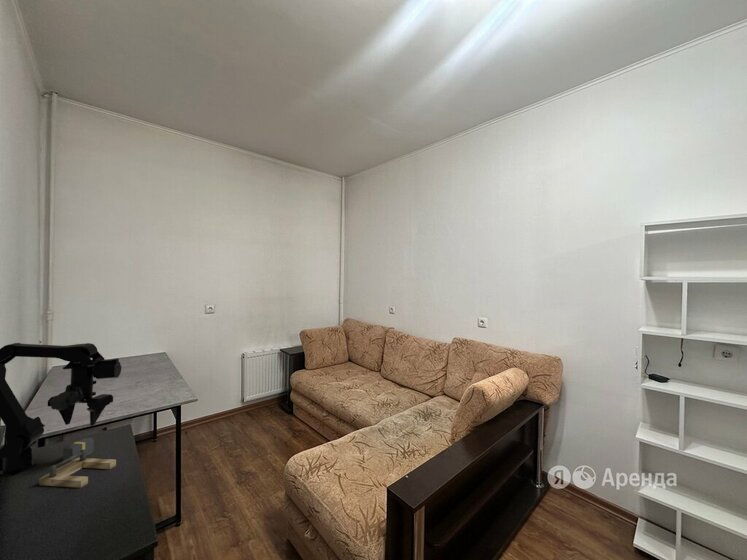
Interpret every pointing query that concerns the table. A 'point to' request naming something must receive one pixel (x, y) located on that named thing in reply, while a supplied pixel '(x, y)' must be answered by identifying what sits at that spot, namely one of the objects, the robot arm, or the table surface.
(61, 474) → the wooden u-shaped holder
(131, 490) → the table surface
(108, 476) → the table surface
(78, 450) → the banded grey block
